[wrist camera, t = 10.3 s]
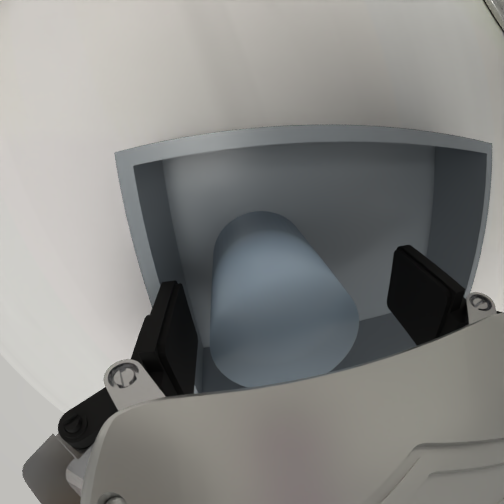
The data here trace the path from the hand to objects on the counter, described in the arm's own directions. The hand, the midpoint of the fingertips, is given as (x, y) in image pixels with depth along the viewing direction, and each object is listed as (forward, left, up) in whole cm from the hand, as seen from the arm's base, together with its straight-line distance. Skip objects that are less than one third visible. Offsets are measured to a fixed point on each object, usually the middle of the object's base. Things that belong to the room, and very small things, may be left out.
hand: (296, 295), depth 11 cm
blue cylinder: (+1, 0, -4) cm, 5 cm away
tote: (-3, 0, -5) cm, 6 cm away
